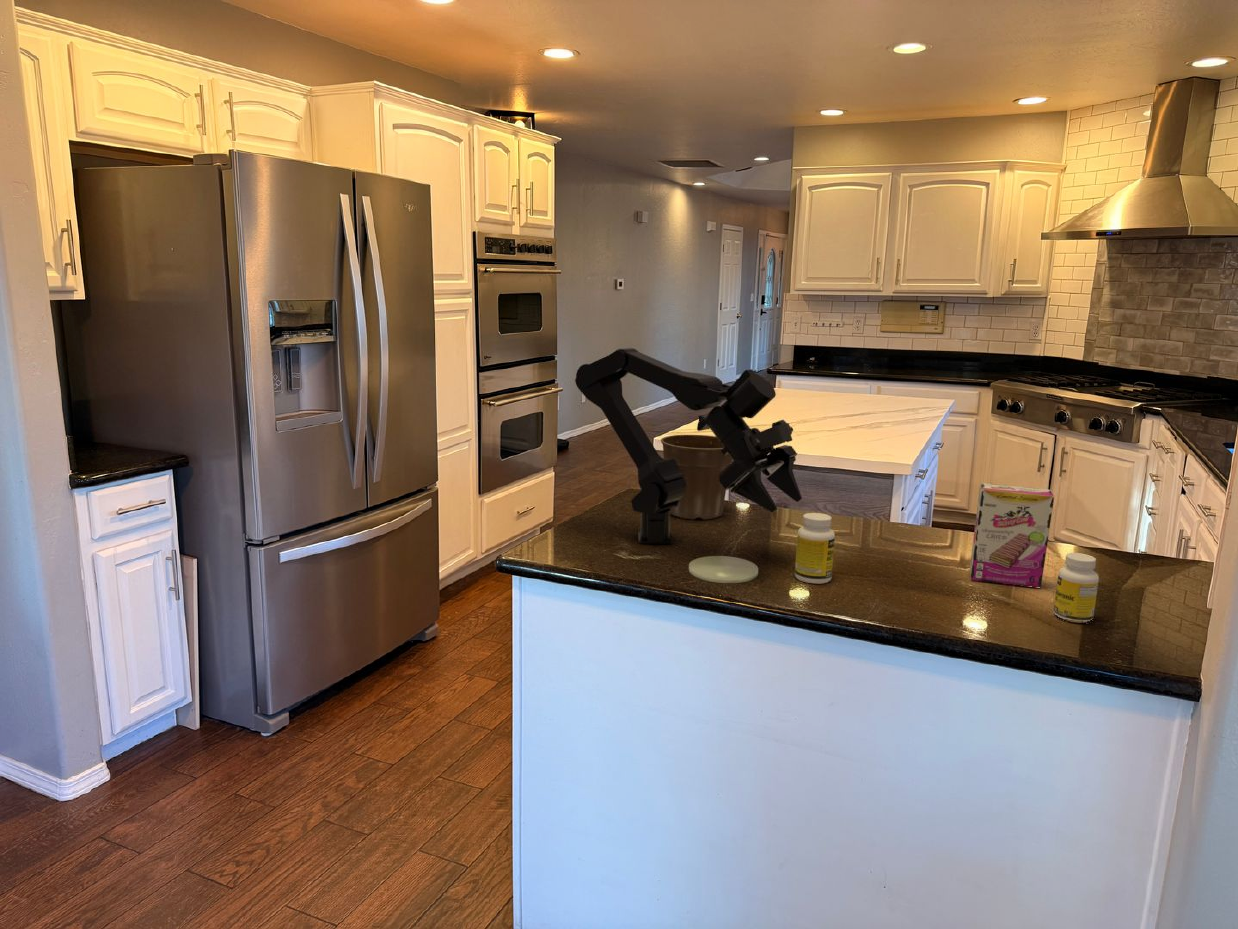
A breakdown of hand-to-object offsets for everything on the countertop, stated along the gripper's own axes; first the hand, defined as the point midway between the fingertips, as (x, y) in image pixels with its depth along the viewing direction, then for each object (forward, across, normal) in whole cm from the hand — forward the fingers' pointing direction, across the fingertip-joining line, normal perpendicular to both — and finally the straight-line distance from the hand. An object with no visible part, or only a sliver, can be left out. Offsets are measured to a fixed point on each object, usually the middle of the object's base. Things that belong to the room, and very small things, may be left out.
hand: (787, 505), depth 143 cm
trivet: (+3, -7, +14) cm, 16 cm away
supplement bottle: (+40, +10, -22) cm, 46 cm away
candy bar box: (+31, +21, -13) cm, 39 cm away
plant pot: (-15, +22, +32) cm, 41 cm away
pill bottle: (+12, 0, +5) cm, 13 cm away
